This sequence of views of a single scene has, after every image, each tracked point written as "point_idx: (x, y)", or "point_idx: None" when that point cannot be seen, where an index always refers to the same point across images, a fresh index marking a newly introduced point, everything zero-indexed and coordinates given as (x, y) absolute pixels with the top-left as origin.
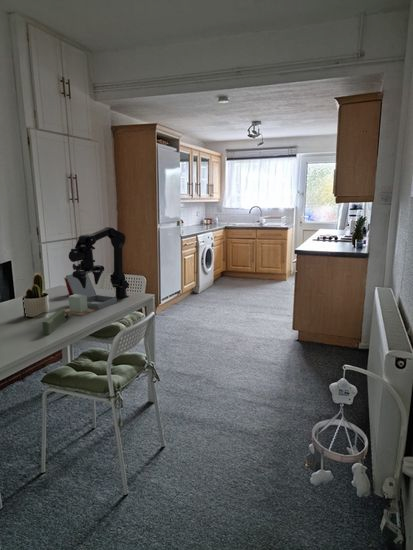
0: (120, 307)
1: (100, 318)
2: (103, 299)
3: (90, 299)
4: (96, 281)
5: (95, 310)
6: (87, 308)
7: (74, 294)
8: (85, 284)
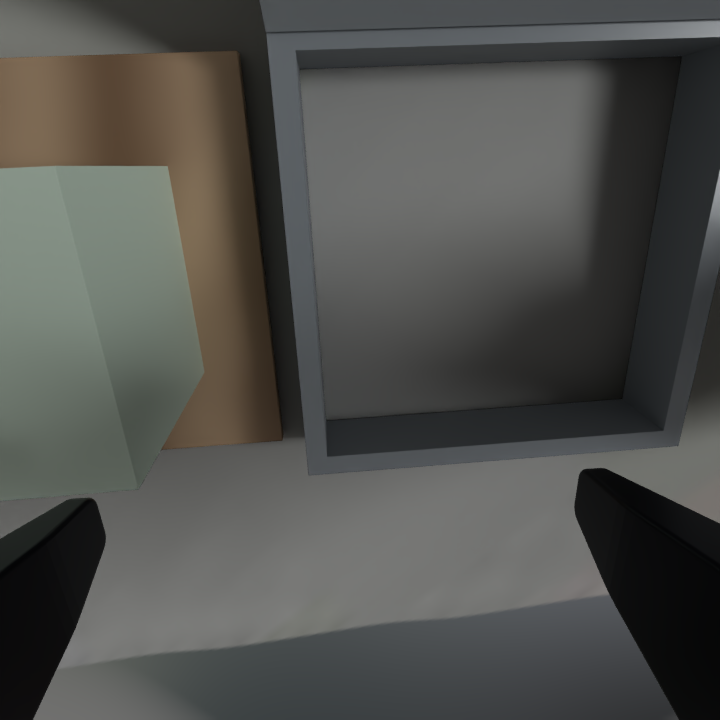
0: (482, 559)
1: (120, 634)
2: (670, 213)
3: (572, 51)
4: (625, 582)
5: (266, 435)
6: (198, 379)
7: (13, 178)
8: (18, 707)
